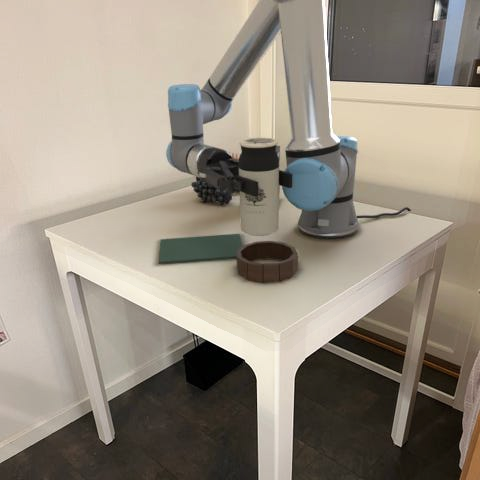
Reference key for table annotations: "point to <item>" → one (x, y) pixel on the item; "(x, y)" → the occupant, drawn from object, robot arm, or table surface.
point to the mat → (199, 248)
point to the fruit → (211, 192)
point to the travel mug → (260, 186)
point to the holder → (266, 270)
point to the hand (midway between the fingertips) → (274, 185)
